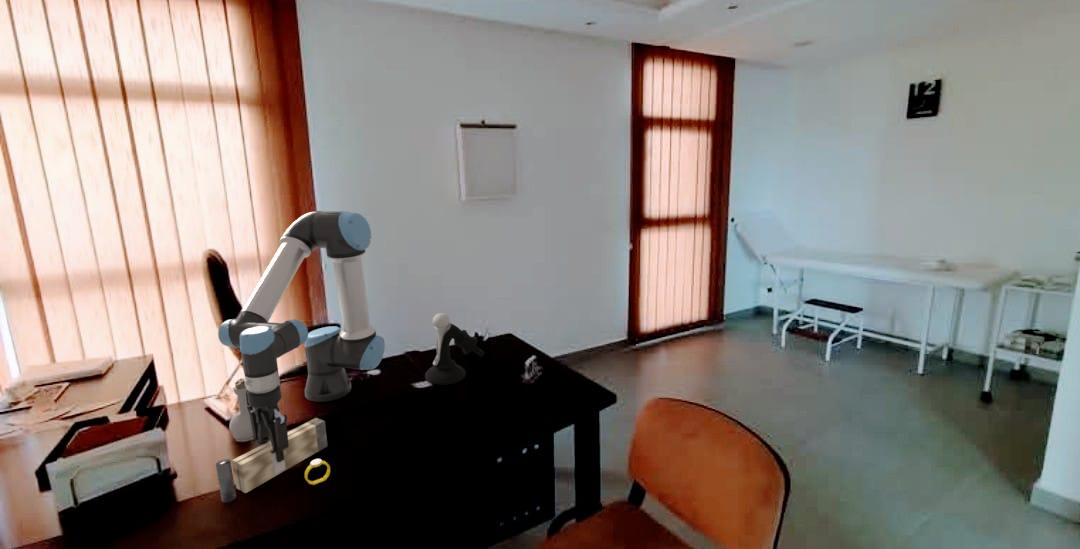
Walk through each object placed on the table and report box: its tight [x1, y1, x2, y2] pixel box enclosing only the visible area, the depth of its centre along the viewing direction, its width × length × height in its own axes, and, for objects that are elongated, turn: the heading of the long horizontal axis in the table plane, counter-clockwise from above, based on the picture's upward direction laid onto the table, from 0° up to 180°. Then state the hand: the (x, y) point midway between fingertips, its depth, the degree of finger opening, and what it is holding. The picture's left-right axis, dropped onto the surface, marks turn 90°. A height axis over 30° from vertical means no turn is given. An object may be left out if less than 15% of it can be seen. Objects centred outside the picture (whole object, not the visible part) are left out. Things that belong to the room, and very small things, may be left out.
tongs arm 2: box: [238, 419, 328, 494], centre depth 137 cm, size 24×2×8 cm, turn 150°
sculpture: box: [424, 312, 486, 386], centre depth 193 cm, size 15×24×25 cm, turn 120°
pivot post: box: [215, 458, 237, 504], centre depth 124 cm, size 3×3×10 cm
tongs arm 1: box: [231, 417, 321, 491], centre depth 138 cm, size 24×2×8 cm, turn 149°
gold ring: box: [304, 458, 331, 486], centre depth 131 cm, size 6×3×6 cm, turn 129°
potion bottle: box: [228, 377, 258, 443], centre depth 151 cm, size 9×9×18 cm
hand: (274, 468), depth 135 cm, fingers open, 4 cm apart
